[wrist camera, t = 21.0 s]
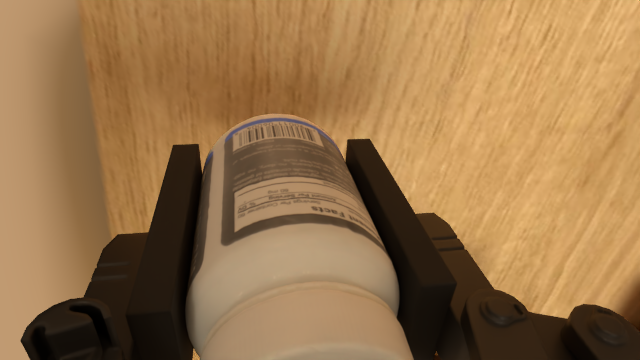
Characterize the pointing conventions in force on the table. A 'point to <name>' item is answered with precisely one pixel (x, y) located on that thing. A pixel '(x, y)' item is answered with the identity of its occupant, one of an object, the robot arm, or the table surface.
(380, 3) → the table surface
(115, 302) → the robot arm
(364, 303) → the pill bottle
